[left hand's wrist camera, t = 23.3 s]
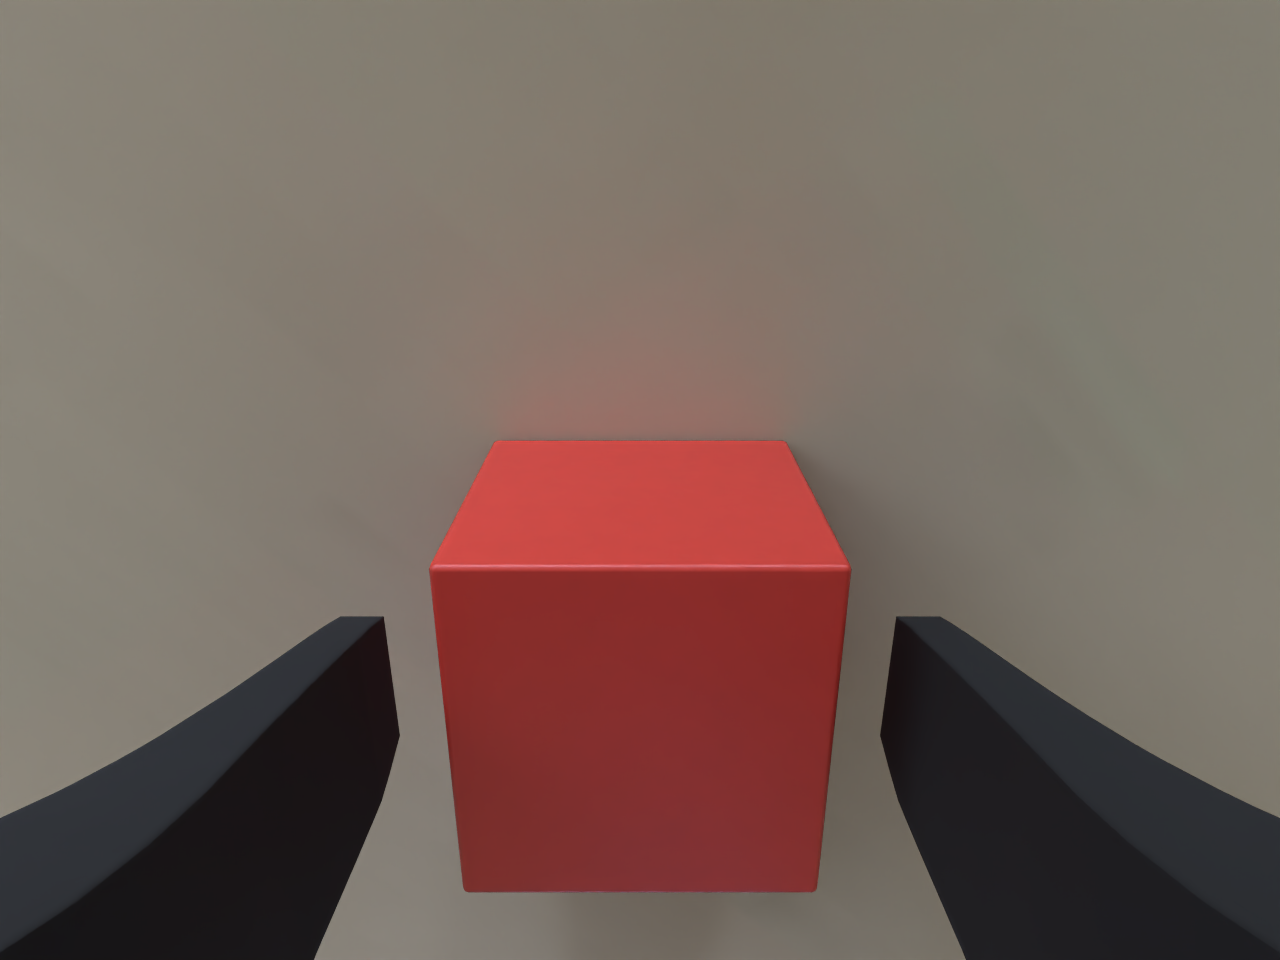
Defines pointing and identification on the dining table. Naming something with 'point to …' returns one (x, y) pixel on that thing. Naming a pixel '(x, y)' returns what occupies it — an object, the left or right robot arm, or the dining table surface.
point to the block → (640, 667)
